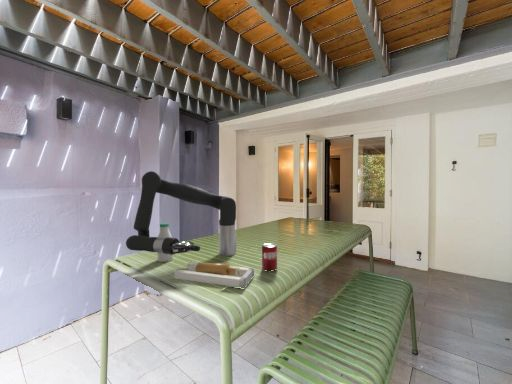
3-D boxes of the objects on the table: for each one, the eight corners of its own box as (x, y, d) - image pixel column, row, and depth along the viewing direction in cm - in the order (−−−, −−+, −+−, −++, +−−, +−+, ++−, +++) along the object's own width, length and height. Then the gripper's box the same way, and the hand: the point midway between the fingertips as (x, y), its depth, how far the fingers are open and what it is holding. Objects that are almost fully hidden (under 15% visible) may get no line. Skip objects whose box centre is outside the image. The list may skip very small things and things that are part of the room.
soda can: (261, 267, 119) (261, 243, 118) (275, 266, 119) (275, 242, 119) (262, 272, 111) (262, 247, 111) (278, 272, 112) (278, 246, 111)
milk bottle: (167, 262, 125) (166, 225, 124) (154, 261, 127) (153, 224, 126) (175, 258, 133) (174, 222, 132) (163, 257, 134) (162, 221, 133)
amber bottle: (202, 262, 110) (241, 264, 105) (201, 274, 109) (240, 277, 104) (196, 262, 105) (236, 265, 100) (195, 275, 104) (235, 279, 99)
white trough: (174, 280, 104) (174, 271, 103) (190, 269, 116) (190, 261, 116) (244, 289, 94) (244, 280, 94) (253, 277, 107) (253, 268, 106)
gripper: (156, 241, 105) (191, 244, 100) (174, 234, 118) (206, 236, 113) (156, 258, 106) (191, 261, 100) (175, 249, 118) (206, 252, 113)
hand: (199, 248), depth 107 cm, fingers closed
